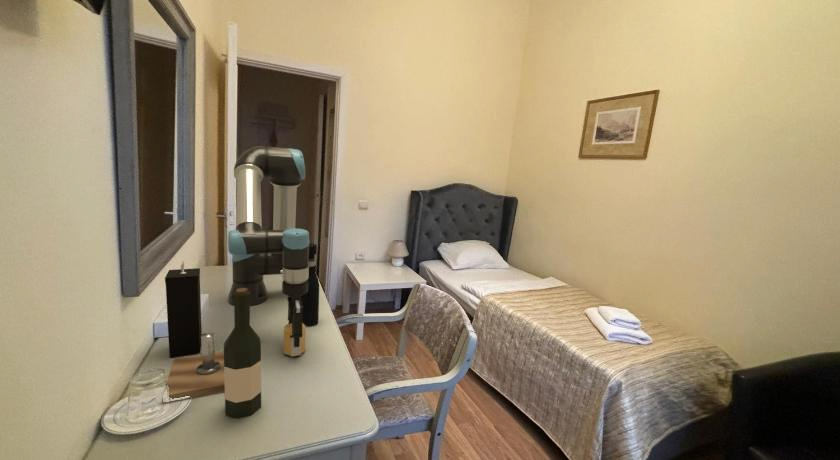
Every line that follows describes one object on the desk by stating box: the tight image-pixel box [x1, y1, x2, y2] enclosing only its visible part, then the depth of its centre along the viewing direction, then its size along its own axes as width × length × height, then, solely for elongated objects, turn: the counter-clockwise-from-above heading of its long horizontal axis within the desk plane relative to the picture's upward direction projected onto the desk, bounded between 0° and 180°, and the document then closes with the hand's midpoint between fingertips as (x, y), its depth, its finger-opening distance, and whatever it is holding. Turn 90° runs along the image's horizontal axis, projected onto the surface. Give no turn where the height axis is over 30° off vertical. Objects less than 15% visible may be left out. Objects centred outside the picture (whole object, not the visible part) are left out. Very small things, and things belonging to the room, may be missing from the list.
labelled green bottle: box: [223, 288, 262, 420], centre depth 84 cm, size 8×8×30 cm
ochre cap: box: [282, 323, 307, 357], centre depth 112 cm, size 6×6×8 cm
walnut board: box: [166, 350, 225, 399], centre depth 98 cm, size 18×18×2 cm
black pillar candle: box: [164, 260, 203, 359], centre depth 107 cm, size 8×8×28 cm
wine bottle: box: [301, 243, 320, 327], centre depth 131 cm, size 6×6×30 cm
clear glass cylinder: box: [197, 331, 221, 375], centre depth 97 cm, size 6×6×10 cm
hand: (294, 349), depth 113 cm, fingers closed on ochre cap, 6 cm apart
